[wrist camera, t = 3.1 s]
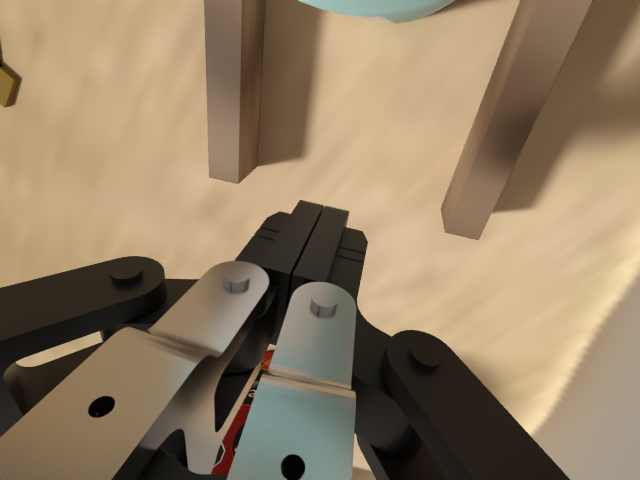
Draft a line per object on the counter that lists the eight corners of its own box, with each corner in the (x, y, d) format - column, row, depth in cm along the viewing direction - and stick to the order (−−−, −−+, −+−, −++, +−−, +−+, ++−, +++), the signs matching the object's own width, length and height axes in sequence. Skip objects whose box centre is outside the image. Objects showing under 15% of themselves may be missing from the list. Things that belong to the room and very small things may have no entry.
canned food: (340, 370, 26) (303, 556, 17) (312, 423, 30) (271, 594, 21) (245, 334, 26) (157, 498, 17) (230, 392, 31) (155, 547, 21)
